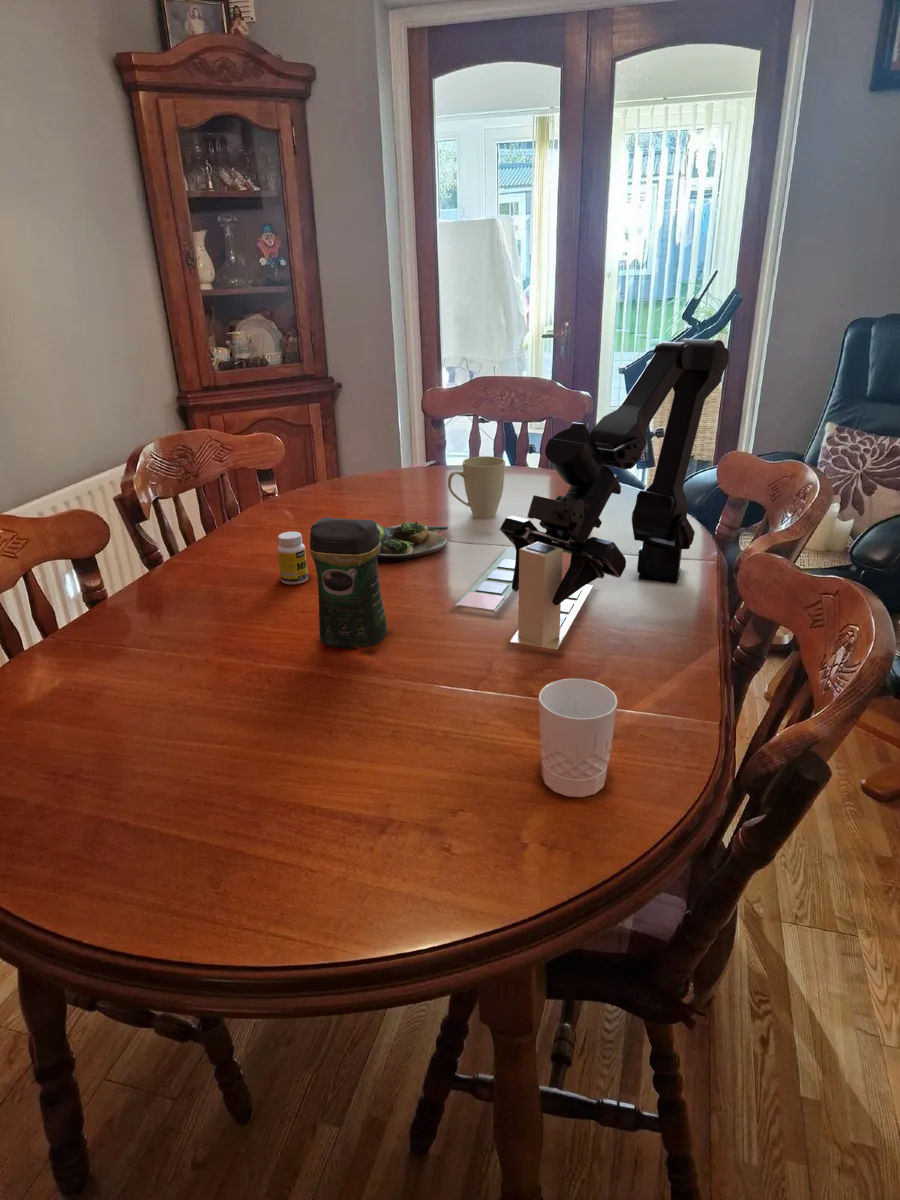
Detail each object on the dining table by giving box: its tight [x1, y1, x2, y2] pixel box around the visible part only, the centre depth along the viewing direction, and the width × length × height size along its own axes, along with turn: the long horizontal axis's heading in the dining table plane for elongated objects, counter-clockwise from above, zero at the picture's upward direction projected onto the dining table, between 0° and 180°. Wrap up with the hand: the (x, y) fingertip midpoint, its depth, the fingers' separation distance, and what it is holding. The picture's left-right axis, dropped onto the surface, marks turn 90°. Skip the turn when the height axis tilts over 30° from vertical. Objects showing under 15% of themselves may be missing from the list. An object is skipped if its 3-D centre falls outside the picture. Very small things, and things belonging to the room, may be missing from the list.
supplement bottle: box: [277, 531, 309, 586], centre depth 131 cm, size 5×5×8 cm
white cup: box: [538, 677, 618, 798], centre depth 79 cm, size 8×8×10 cm
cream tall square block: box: [517, 542, 564, 646], centre depth 106 cm, size 4×4×14 cm
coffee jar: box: [309, 516, 388, 651], centre depth 108 cm, size 10×8×19 cm
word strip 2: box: [509, 584, 594, 651], centre depth 117 cm, size 24×7×1 cm, turn 158°
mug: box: [447, 455, 506, 520], centre depth 161 cm, size 11×10×12 cm
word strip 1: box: [454, 546, 516, 613], centre depth 130 cm, size 28×7×1 cm, turn 158°
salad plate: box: [376, 521, 449, 563], centre depth 147 cm, size 19×18×5 cm
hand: (533, 597), depth 105 cm, fingers open, 7 cm apart
